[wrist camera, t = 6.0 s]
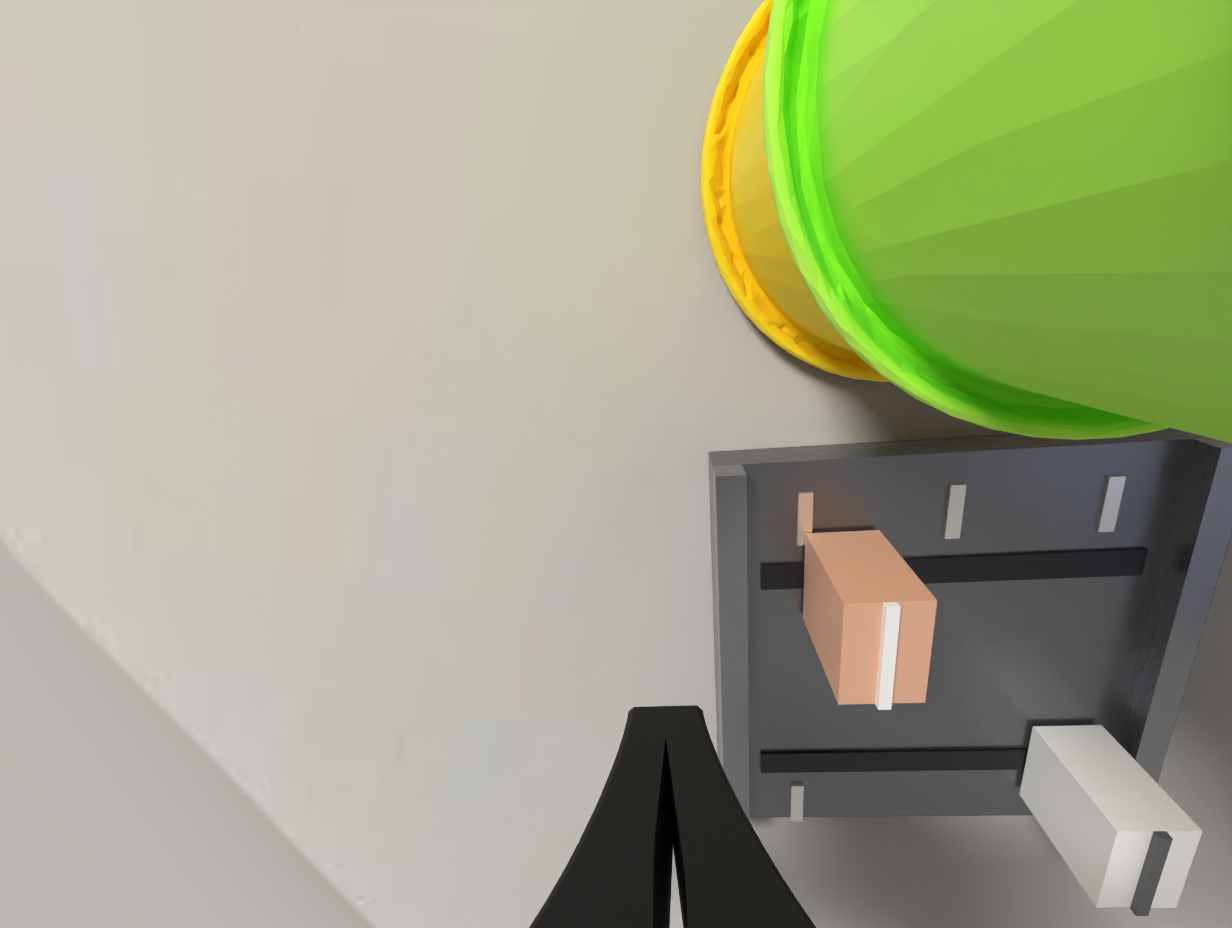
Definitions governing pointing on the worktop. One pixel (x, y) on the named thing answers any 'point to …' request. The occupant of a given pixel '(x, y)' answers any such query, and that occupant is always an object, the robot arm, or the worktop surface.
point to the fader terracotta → (867, 618)
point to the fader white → (1108, 818)
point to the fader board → (964, 610)
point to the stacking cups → (988, 204)
